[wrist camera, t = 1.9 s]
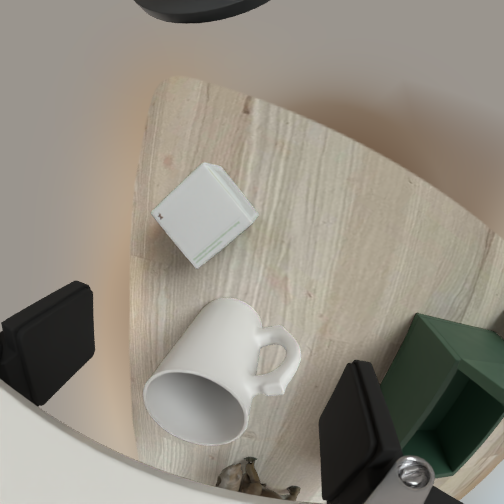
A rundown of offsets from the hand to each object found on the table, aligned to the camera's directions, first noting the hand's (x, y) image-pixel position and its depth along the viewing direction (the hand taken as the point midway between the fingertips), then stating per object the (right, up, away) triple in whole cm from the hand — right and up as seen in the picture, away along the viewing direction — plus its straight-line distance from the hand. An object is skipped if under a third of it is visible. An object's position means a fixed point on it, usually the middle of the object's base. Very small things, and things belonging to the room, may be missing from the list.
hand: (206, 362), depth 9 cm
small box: (-2, +7, +16) cm, 18 cm away
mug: (+1, -3, +18) cm, 18 cm away
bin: (+21, -11, +17) cm, 30 cm away
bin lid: (+21, -7, -2) cm, 23 cm away
